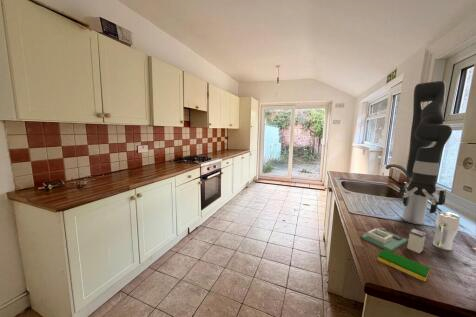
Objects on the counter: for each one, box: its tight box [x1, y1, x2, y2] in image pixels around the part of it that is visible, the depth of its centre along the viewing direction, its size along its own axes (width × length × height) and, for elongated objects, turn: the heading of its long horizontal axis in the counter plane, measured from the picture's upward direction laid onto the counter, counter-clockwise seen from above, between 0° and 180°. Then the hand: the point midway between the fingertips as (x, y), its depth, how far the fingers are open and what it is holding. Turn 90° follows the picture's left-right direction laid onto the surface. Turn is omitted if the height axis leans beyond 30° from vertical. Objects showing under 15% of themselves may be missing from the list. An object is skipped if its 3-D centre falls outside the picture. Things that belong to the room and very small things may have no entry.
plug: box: [406, 228, 427, 254], centre depth 83 cm, size 4×4×8 cm
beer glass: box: [432, 211, 461, 251], centre depth 85 cm, size 7×7×15 cm
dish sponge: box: [376, 248, 431, 282], centre depth 73 cm, size 7×14×2 cm, turn 39°
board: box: [360, 227, 409, 253], centre depth 90 cm, size 16×12×3 cm
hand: (418, 209), depth 83 cm, fingers open, 8 cm apart
